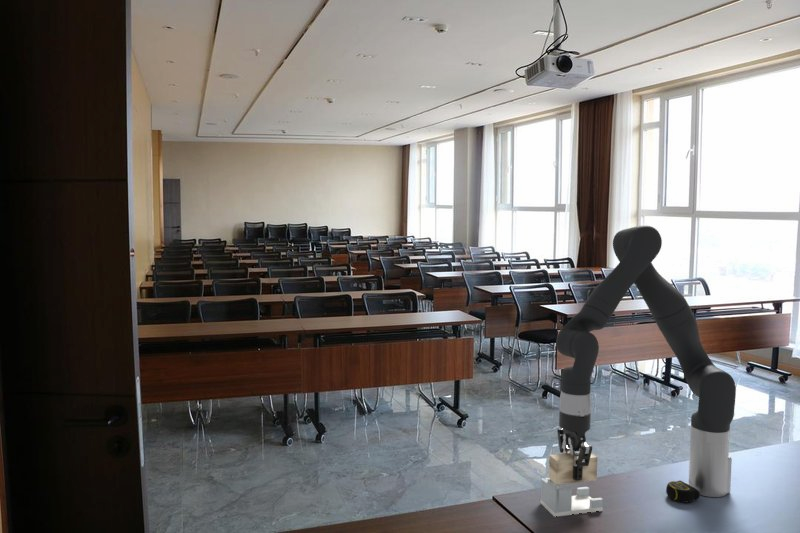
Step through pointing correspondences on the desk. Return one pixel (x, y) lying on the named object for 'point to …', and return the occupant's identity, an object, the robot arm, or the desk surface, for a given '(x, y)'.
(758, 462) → the desk surface
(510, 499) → the desk surface
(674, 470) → the desk surface
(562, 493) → the bracket board
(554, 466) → the beech rail
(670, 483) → the tape measure
